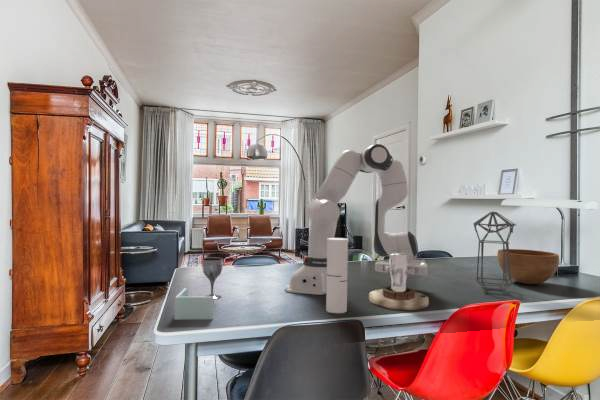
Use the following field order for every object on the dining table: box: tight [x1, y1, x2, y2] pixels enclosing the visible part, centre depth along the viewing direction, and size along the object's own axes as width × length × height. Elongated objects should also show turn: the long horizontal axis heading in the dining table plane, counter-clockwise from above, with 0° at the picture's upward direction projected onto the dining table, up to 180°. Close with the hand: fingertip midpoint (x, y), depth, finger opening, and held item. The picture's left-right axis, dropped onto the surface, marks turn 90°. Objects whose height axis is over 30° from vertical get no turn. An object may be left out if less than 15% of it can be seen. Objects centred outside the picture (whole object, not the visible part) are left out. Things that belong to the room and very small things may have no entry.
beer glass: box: [388, 253, 408, 293], centre depth 136 cm, size 7×7×15 cm
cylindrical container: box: [325, 237, 349, 314], centre depth 123 cm, size 7×7×25 cm
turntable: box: [368, 285, 430, 311], centre depth 136 cm, size 22×22×4 cm
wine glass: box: [201, 256, 224, 301], centre depth 138 cm, size 8×8×15 cm
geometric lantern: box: [472, 211, 517, 296], centre depth 154 cm, size 16×16×35 cm
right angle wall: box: [173, 287, 215, 321], centre depth 118 cm, size 12×12×8 cm
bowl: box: [496, 248, 560, 285], centre depth 170 cm, size 25×25×15 cm
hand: (398, 271), depth 135 cm, fingers closed on beer glass, 6 cm apart
